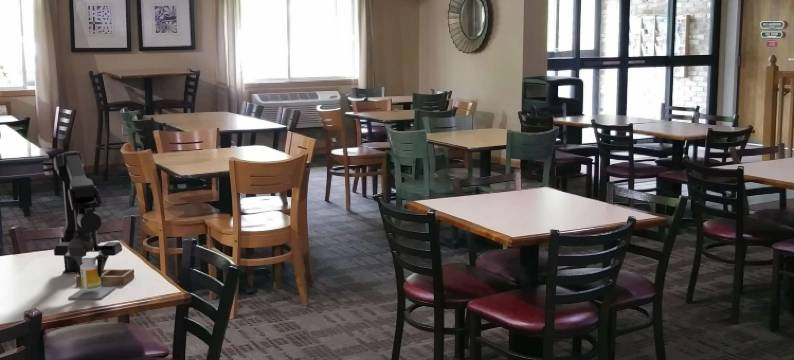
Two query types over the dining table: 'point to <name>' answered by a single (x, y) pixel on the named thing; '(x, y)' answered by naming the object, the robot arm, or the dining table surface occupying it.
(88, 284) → the supplement bottle
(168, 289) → the dining table surface
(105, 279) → the brown two-compartment frame
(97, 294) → the coaster
